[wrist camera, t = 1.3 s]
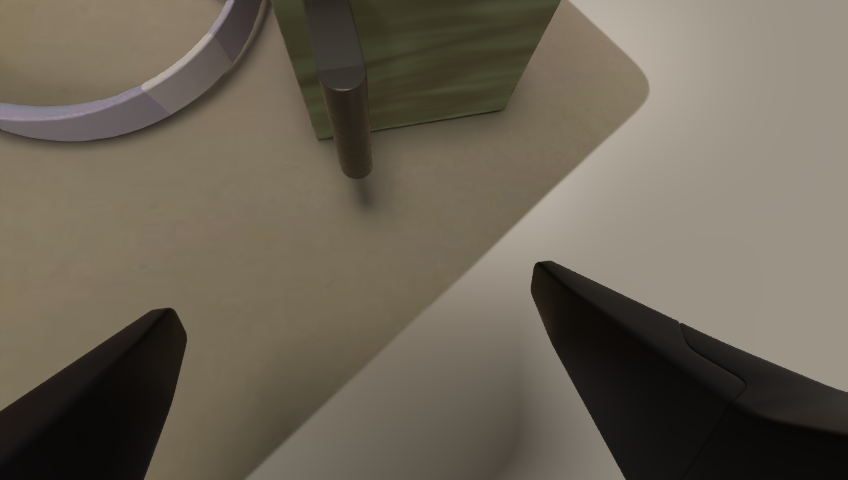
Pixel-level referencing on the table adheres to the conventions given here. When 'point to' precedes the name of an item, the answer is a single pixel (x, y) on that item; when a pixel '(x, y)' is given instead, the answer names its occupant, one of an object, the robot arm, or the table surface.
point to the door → (404, 62)
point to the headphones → (142, 88)
